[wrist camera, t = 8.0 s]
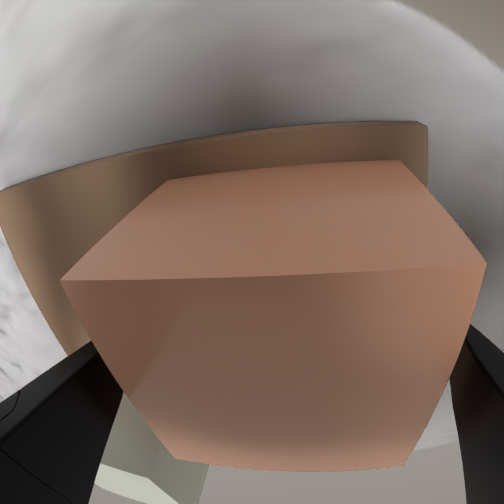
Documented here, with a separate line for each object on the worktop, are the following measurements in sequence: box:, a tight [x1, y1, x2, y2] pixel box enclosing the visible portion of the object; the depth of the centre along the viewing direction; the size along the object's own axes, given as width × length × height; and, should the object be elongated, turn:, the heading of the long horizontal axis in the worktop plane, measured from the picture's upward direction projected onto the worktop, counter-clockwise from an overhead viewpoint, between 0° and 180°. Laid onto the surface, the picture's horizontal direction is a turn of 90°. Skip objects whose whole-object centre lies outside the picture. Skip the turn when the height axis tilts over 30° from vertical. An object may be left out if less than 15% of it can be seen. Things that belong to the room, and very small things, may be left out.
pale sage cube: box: [94, 393, 209, 504], centre depth 16 cm, size 7×7×6 cm
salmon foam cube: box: [60, 160, 487, 472], centre depth 8 cm, size 7×7×6 cm
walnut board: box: [0, 121, 428, 356], centre depth 15 cm, size 18×18×1 cm
